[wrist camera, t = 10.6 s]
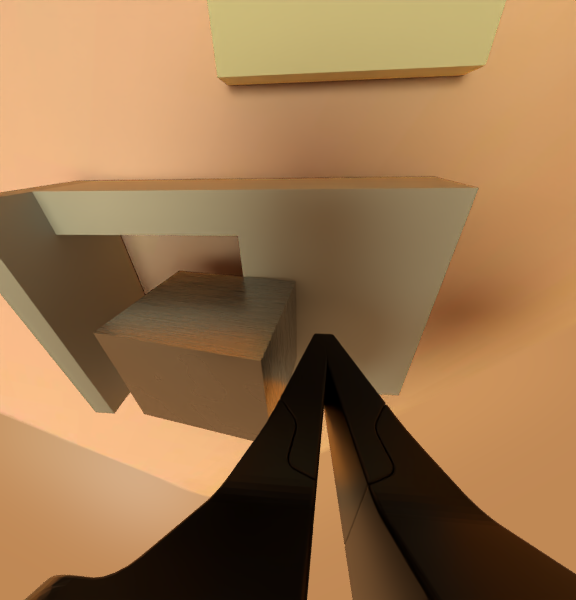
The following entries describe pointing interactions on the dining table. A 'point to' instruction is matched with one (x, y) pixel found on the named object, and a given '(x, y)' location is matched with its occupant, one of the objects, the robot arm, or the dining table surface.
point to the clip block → (207, 350)
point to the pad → (349, 39)
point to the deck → (254, 258)
